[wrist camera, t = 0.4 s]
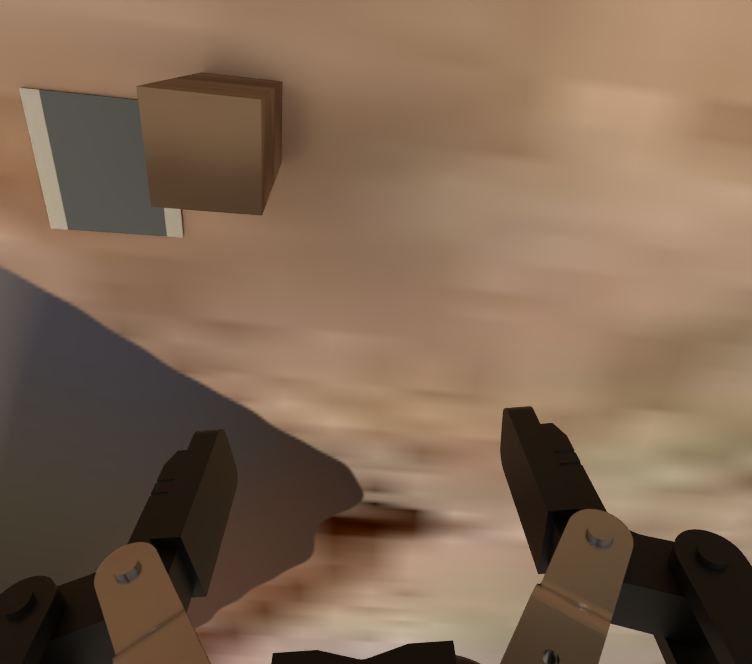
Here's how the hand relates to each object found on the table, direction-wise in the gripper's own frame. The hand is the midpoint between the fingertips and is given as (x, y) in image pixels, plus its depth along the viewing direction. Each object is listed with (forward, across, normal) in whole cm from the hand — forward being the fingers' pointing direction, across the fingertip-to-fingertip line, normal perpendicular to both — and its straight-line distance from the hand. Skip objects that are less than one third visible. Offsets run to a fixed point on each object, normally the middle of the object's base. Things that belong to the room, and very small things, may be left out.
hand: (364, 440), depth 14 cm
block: (+21, +6, -6) cm, 23 cm away
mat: (+20, +15, -4) cm, 26 cm away
